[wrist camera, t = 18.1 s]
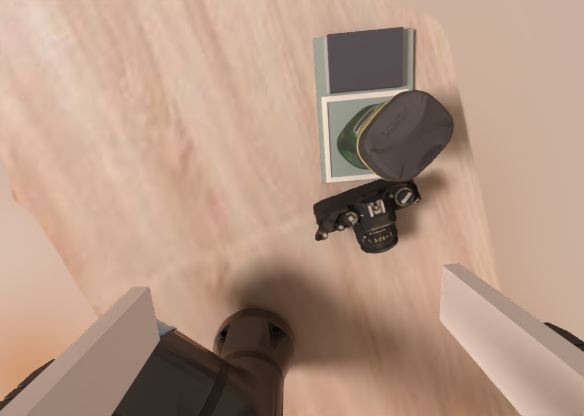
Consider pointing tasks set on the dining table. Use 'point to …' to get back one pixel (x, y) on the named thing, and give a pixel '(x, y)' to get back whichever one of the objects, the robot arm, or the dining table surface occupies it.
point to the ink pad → (364, 60)
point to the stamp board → (349, 112)
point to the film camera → (367, 212)
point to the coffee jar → (397, 136)
